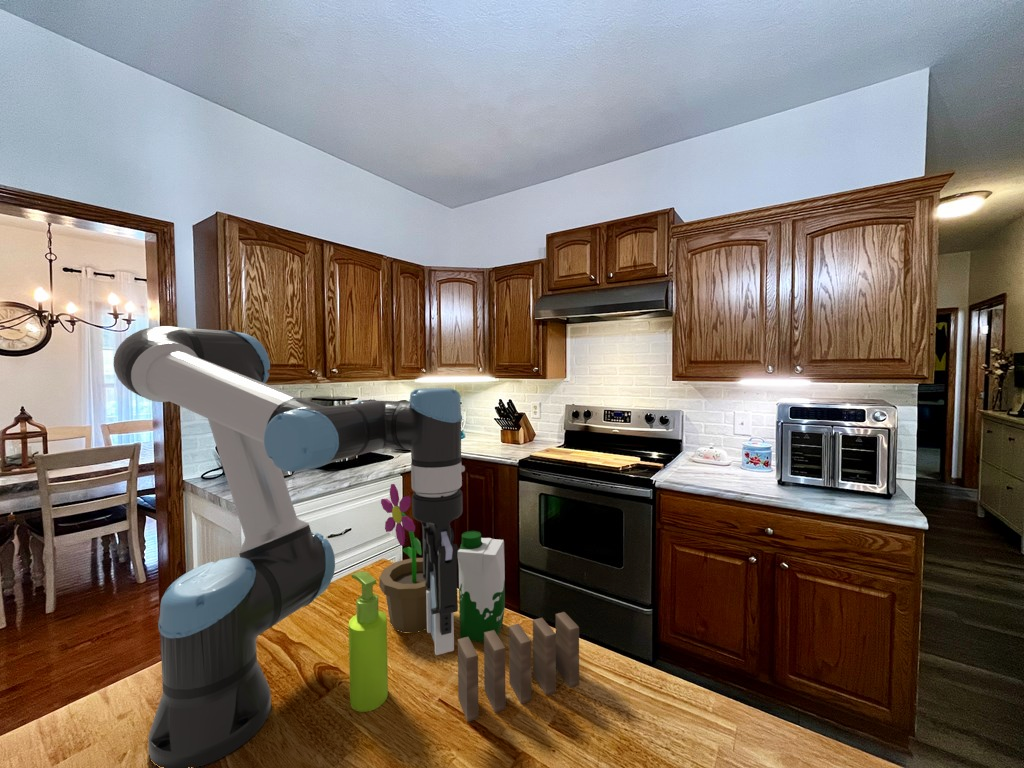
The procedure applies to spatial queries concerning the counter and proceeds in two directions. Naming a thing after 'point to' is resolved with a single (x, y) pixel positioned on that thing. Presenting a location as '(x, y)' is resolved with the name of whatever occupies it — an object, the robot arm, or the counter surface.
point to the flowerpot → (404, 572)
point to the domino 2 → (468, 678)
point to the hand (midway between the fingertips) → (439, 639)
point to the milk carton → (481, 585)
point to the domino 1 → (432, 602)
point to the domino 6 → (567, 649)
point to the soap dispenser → (368, 649)
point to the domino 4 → (520, 663)
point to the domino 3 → (494, 670)
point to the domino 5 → (544, 656)
